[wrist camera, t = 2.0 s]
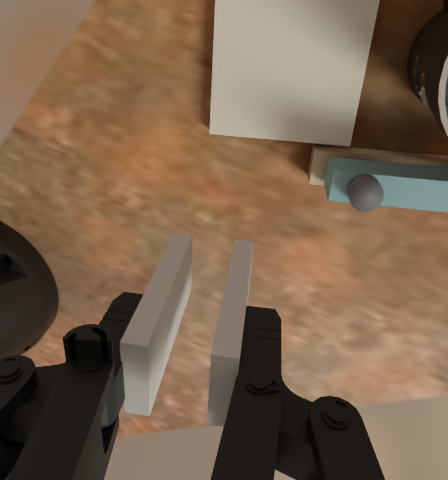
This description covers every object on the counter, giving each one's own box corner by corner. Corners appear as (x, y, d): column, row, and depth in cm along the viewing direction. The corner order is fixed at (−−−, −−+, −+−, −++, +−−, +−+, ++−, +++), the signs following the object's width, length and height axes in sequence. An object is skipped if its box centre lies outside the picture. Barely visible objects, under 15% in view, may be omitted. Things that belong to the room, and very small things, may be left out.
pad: (211, 130, 31) (209, 133, 30) (218, -29, 27) (216, -30, 26) (348, 142, 31) (350, 146, 30) (380, -19, 26) (383, -20, 25)
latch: (324, 184, 30) (330, 207, 26) (329, 156, 29) (336, 177, 25) (531, 204, 29) (568, 231, 25) (543, 176, 28) (583, 200, 24)
